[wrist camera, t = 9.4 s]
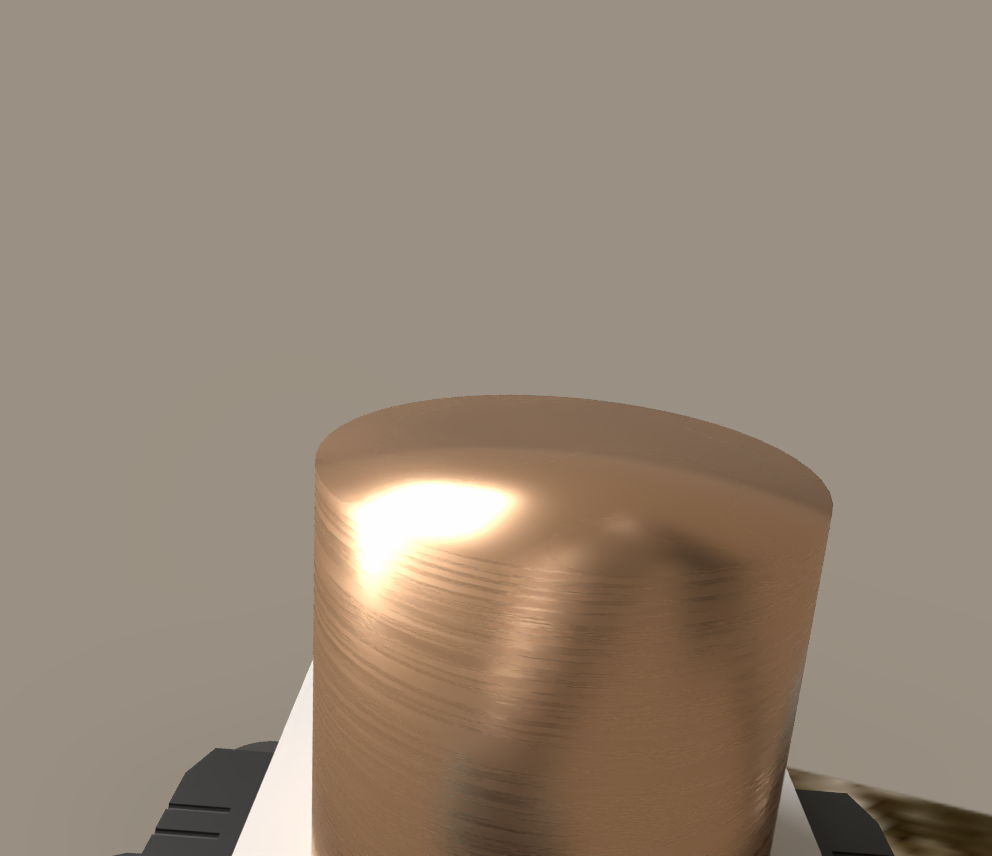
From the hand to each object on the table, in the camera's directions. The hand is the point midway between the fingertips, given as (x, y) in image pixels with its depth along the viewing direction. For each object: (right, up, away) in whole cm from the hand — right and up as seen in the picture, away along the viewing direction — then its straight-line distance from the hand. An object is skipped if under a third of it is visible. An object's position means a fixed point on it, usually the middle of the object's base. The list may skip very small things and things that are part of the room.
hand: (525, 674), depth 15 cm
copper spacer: (-1, -8, -3) cm, 8 cm away
